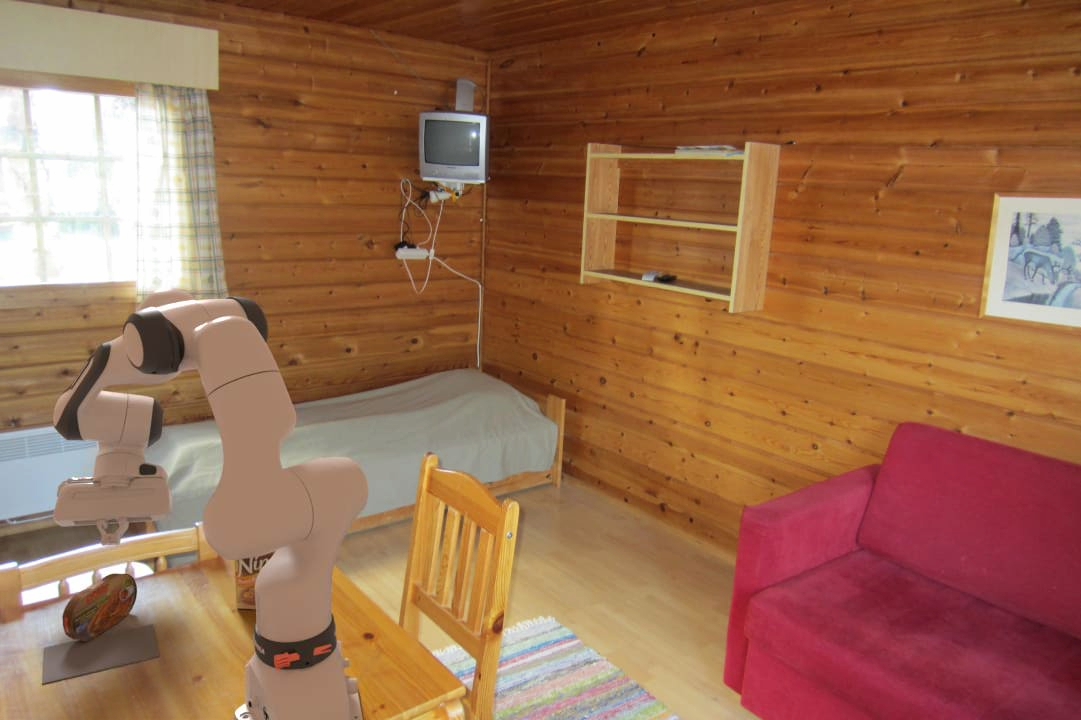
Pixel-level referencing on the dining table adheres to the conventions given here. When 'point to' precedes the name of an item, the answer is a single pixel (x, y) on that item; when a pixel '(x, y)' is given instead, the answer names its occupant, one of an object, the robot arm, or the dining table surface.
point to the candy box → (248, 579)
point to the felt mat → (98, 653)
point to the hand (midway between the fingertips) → (110, 544)
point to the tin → (99, 606)
